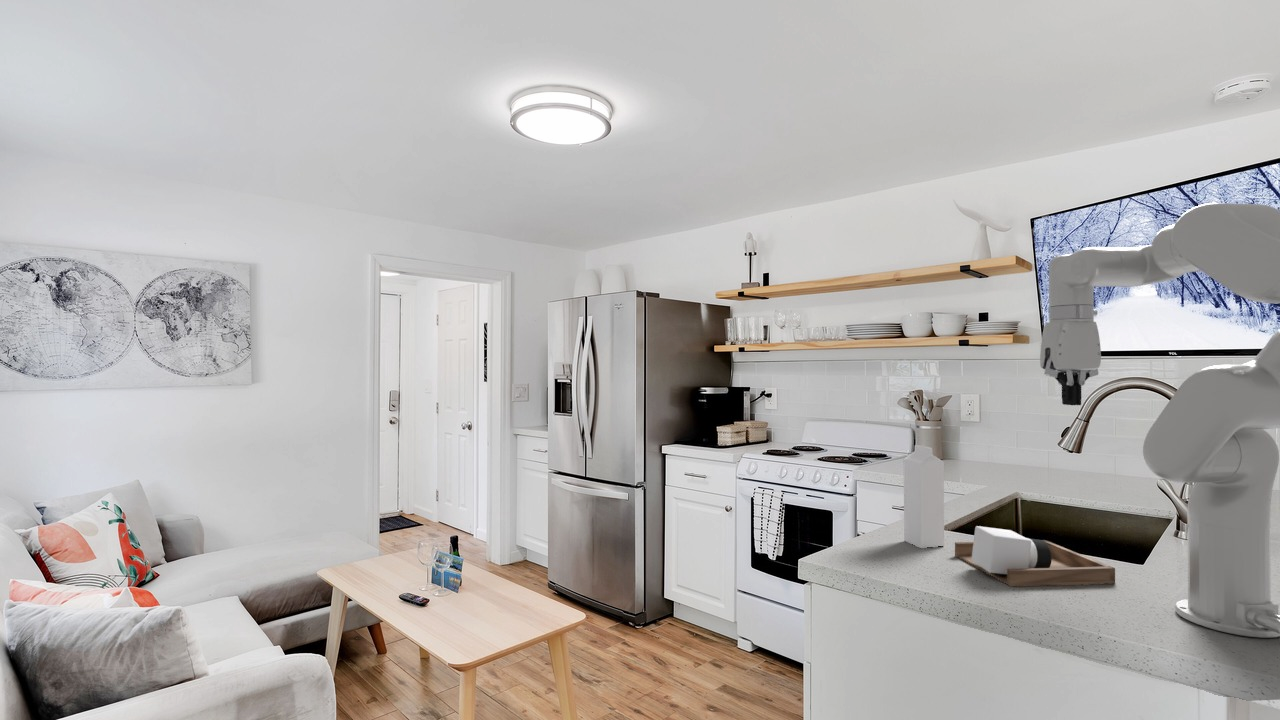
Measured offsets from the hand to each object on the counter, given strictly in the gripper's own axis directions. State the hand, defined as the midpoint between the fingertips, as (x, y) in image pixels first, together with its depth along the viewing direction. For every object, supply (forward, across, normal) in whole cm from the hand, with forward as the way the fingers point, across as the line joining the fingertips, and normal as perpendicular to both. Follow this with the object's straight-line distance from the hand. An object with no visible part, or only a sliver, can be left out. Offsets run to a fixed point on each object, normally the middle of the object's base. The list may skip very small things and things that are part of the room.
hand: (1071, 404), depth 128 cm
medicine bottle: (+27, +23, +6) cm, 36 cm away
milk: (+32, +24, -14) cm, 43 cm away
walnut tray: (+32, +12, +4) cm, 35 cm away
